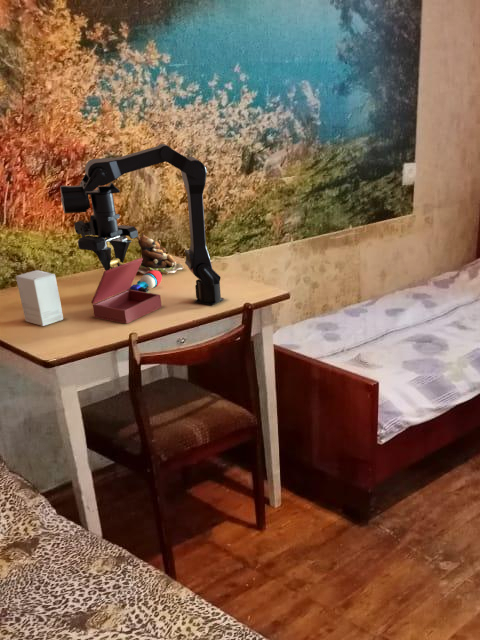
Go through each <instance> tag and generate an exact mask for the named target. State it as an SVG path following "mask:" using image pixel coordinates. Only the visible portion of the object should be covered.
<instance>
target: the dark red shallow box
mask: <svg viewBox="0 0 480 640" xmlns="http://www.w3.org/2000/svg"><path fill="white" fill-rule="evenodd" d="M161 308H162V299H161V294H158V293H153V292H148V291H147V292H141V291H135V290H130V289H129V290H125V291H123V292H121V293H118V294H116V295H113V296H111V297H109V298H106V299H104V300H101V301H99V302H96V303H94V304H92V310H93V311H92V312H93V318H95V319H100V320H106V321H111V322H114V323H115V322H116V323H120V324H129V323H131V322H134V321H135V320H138V319H140V318H142V317H144V316H146V315H148V314H150V313H152V312H155V311H156V310H159V309H161Z"/></svg>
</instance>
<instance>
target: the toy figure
mask: <svg viewBox="0 0 480 640" xmlns="http://www.w3.org/2000/svg"><path fill="white" fill-rule="evenodd" d="M162 279H163V276H162V273H160V272H159V271H156V270H152V271H149V272H147V273H146V274H145V275H144V274H143V275H142V276H141V277H140V278H139V280H138V281H136V284H132V285H131V287H130V290H135V291H141V292H147V293H148V292H149V290H150V289H154V288H157V287H158V286H159V285H160V283H161V282H162ZM128 290H129V289H128Z"/></svg>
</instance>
